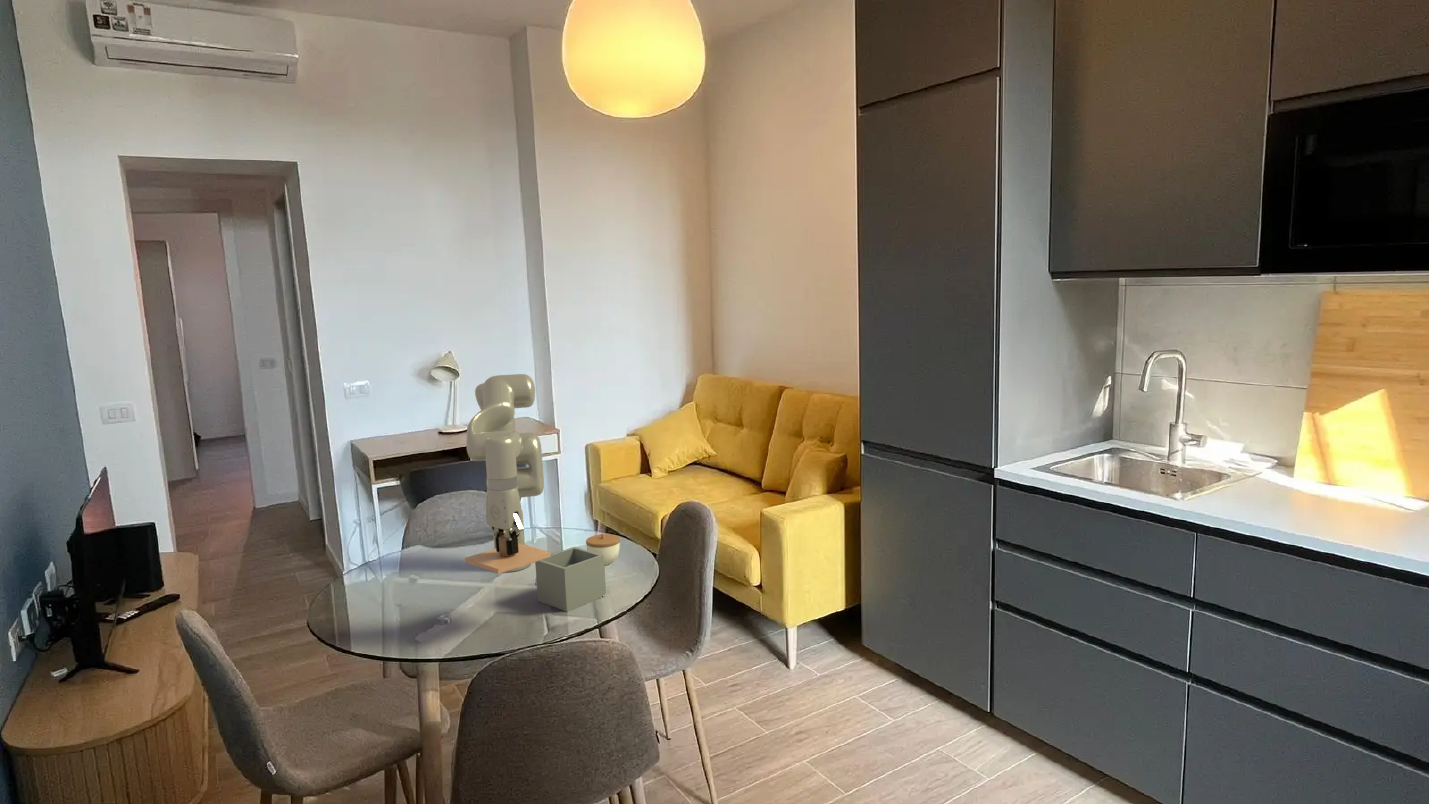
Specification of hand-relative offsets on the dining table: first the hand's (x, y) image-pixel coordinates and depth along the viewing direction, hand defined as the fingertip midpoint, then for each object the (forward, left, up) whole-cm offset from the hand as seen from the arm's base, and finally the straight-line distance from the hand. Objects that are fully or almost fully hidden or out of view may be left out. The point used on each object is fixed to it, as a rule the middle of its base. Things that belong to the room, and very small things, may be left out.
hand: (507, 551), depth 208 cm
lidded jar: (-16, +46, -19) cm, 53 cm away
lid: (0, 0, -3) cm, 3 cm away
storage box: (0, +20, -19) cm, 28 cm away
